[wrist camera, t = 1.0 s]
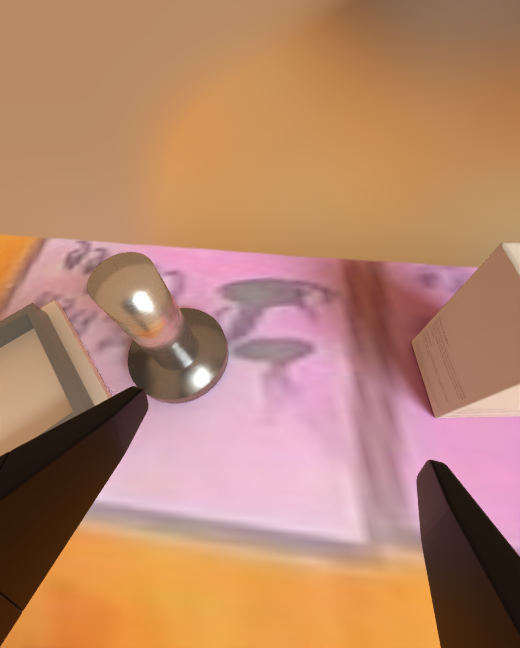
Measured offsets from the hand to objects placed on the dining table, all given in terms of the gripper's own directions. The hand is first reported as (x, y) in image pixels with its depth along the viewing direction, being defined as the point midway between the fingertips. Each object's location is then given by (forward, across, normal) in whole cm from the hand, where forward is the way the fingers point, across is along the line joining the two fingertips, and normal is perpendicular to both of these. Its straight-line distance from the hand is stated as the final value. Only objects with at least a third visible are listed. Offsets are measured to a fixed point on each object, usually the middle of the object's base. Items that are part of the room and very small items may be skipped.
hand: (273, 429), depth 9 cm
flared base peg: (+13, +11, +10) cm, 20 cm away
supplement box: (+17, -14, +8) cm, 24 cm away
